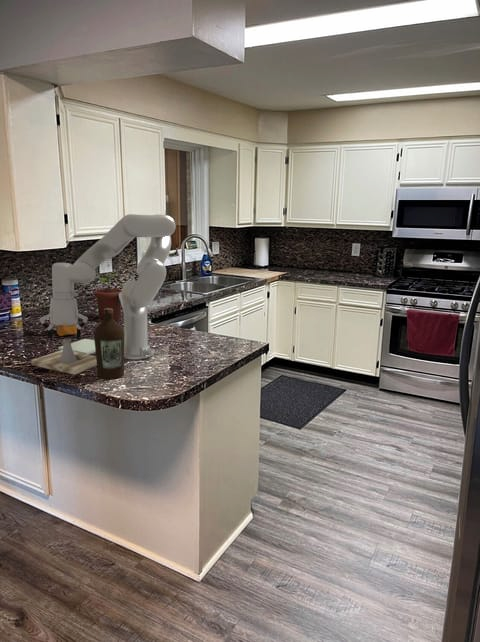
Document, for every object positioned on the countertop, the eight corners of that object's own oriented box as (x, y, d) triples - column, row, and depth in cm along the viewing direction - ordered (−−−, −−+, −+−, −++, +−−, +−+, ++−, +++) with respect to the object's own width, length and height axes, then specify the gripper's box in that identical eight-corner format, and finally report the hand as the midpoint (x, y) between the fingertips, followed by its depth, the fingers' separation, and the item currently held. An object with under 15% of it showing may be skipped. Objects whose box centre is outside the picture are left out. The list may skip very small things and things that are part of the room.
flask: (71, 360, 186) (70, 336, 184) (81, 363, 182) (80, 339, 179) (55, 364, 180) (53, 339, 178) (65, 368, 176) (63, 343, 174)
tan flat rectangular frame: (104, 362, 183) (104, 357, 183) (74, 374, 169) (73, 369, 169) (63, 354, 193) (63, 349, 192) (31, 365, 178) (31, 360, 178)
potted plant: (123, 314, 268) (122, 272, 262) (133, 322, 249) (131, 277, 244) (92, 317, 260) (90, 273, 255) (99, 325, 242) (97, 278, 236)
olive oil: (94, 372, 172) (91, 307, 167) (123, 369, 177) (120, 305, 171) (97, 381, 163) (94, 312, 157) (128, 378, 167) (125, 311, 161)
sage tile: (112, 345, 206) (112, 343, 206) (86, 355, 192) (86, 352, 192) (85, 340, 213) (85, 338, 213) (58, 349, 199) (58, 347, 199)
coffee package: (78, 329, 233) (76, 286, 228) (78, 335, 221) (75, 290, 216) (57, 330, 230) (54, 287, 225) (56, 337, 218) (52, 291, 213)
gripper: (87, 294, 181) (87, 336, 185) (39, 294, 175) (41, 337, 179) (87, 297, 174) (88, 340, 178) (38, 297, 168) (39, 342, 172)
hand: (64, 339), depth 178 cm, fingers open, 9 cm apart
